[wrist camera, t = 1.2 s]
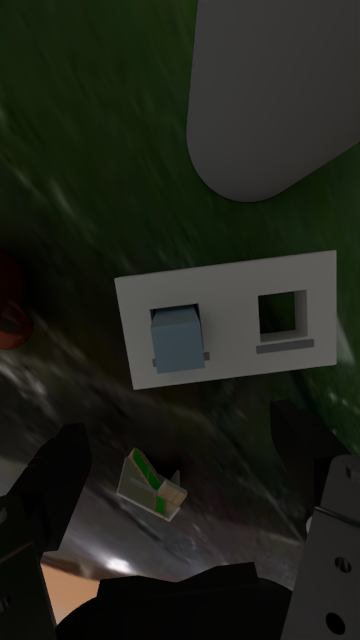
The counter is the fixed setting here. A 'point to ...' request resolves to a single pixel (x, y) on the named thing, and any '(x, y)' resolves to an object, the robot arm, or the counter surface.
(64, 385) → the counter surface
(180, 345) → the plug
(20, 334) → the mug
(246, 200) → the cylinder vase
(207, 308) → the port panel
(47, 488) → the robot arm
